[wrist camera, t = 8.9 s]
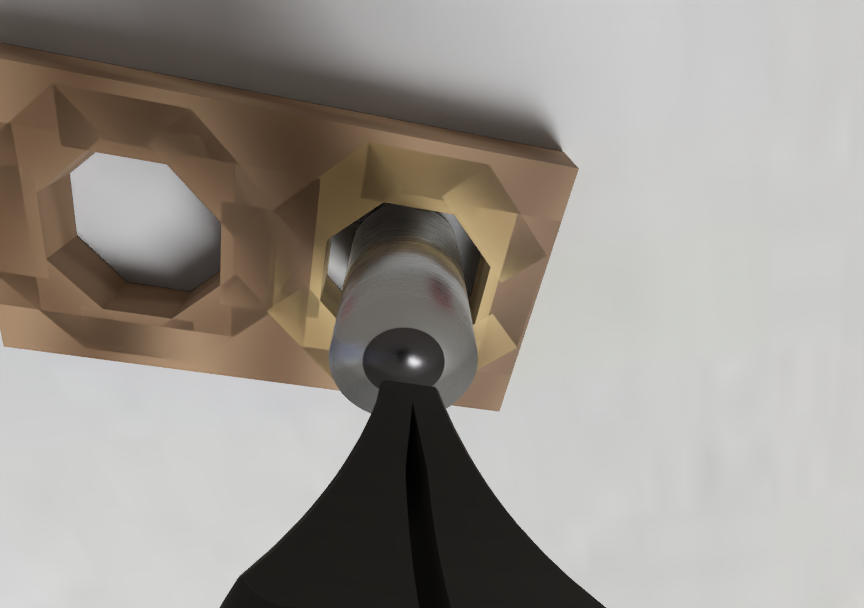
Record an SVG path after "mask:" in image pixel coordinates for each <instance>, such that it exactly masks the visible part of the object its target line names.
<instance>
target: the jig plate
mask: <svg viewBox="0 0 864 608" xmlns="http://www.w3.org/2000/svg"><path fill="white" fill-rule="evenodd" d="M95 152H99V153H105V154H111V155H116V156H122V157H128V158H134V159H139V160H145V161H151V162H156V163H162V164H167V165H168V166H169V167H170V168H171V169H172V170H173V172H174V173H175V174H176V175H177V176H178V177H179V178H180V179H181V180H182V181H183V182H184V183H185V184H186V186H187V187H188V188H189V189H190V190H191V191H192V192H193V193H194V194H195V195H196V196H197V197H198V199H199V200H200V201H201V202H202V203H203V204H204V205H205V206H206V207H207V208H208V209H209V210H210V211H211V213H212V214H213V215H214V216H215V217H216V218H217V219H218V220H219V221H220V222H221V265H220V272H218V273H217V274H216V275H214V276H213V277H211V278H210V279H208V280H207V281H205V282H204V283H203V284H201V285H200V286H198V287H197V288H195V289H194V290H193V291H191V292H189V291H182V290H175V289H169V288H162V287H155V286H148V285H142V284H135V283H128V282H126V281H125V280H124V279H123V278H122V277H121V276H120V275H119V274H118V273H117V272H116V271H115V270H113V269H112V268H111V267H110V266H109V265H108V264H107V263H106V262H105V261H104V260H103V259H102V258H100V257H99V256H98V255H97V254H96V253H95V252H94V251H93V250H92V249H91V248H90V247H89V246H88V245H86V244H85V243H84V242H83V241H82V240H81V239H80V238H79V237H78V236H77V233H76V224H75V216H74V208H73V199H72V191H71V182H70V173H71V172H72V171H73V170H74V169H76V168H77V167H78V166H79V165H80V164H82V163H83V162H84V161H85V160H86V159H88V158H89V157H90V156H91V155H92V154H94V153H95ZM578 169H579V168H578V167H577V166H576V165H575V164H574V163H573V162H572V161H571V160H570V158H569V157H568V156H567V155H566V154H565V153H564V152H562V151H556V150H551V149H546V148H541V147H536V146H531V145H526V144H520V143H515V142H510V141H505V140H500V139H495V138H489V137H484V136H479V135H474V134H469V133H464V132H458V131H453V130H448V129H443V128H438V127H433V126H427V125H422V124H417V123H412V122H407V121H402V120H396V119H391V118H386V117H381V116H376V115H371V114H365V113H360V112H355V111H350V110H345V109H340V108H334V107H329V106H324V105H319V104H314V103H309V102H303V101H298V100H293V99H288V98H283V97H278V96H272V95H267V94H262V93H257V92H252V91H247V90H241V89H236V88H231V87H226V86H221V85H216V84H211V83H205V82H200V81H195V80H190V79H185V78H180V77H174V76H169V75H164V74H159V73H154V72H149V71H143V70H138V69H133V68H128V67H123V66H118V65H112V64H107V63H102V62H97V61H92V60H87V59H81V58H76V57H71V56H66V55H61V54H56V53H50V52H45V51H40V50H35V49H30V48H25V47H19V46H14V45H9V44H4V43H0V330H1V335H2V340H3V344H4V347H12V348H20V349H27V350H35V351H43V352H50V353H58V354H65V355H73V356H81V357H88V358H96V359H104V360H111V361H119V362H126V363H134V364H142V365H149V366H157V367H164V368H172V369H180V370H187V371H195V372H203V373H210V374H218V375H225V376H233V377H241V378H248V379H256V380H264V381H271V382H279V383H286V384H294V385H302V386H309V387H317V388H324V389H332V390H339V388H338V387H337V385H336V383H335V382H334V380H333V377H332V375H331V371H330V367H329V349H330V344H331V340H332V335H333V331H334V326H335V321H336V317H337V312H338V308H339V303H340V299H341V294H342V291H341V290H340V289H339V288H338V287H337V286H336V284H335V283H334V282H333V281H332V280H331V279H330V278H329V276H328V275H327V271H328V263H329V254H330V246H331V237H332V236H334V235H335V234H337V233H338V232H340V231H341V230H343V229H344V228H346V227H347V226H349V225H350V224H352V223H353V222H355V221H356V220H358V219H359V218H361V217H362V216H364V215H365V214H367V213H368V212H370V211H371V210H373V209H374V208H376V207H377V206H378V205H380V204H381V203H383V202H386V203H391V204H397V205H403V206H408V207H414V208H420V209H426V210H431V211H437V212H443V213H449V214H454V215H455V217H456V218H457V219H458V221H459V222H460V224H461V225H462V227H463V228H464V230H465V231H466V232H467V234H468V235H469V237H470V238H471V240H472V241H473V242H474V244H475V245H476V247H477V248H478V250H479V251H480V253H481V257H480V261H479V264H478V268H477V272H476V276H475V280H474V284H473V287H472V291H471V295H470V297H469V298H468V302H469V307H470V313H471V318H472V324H473V329H474V335H475V340H476V346H477V351H478V365H477V370H476V374H475V377H474V379H473V381H472V383H471V385H470V386H469V388H468V390H467V391H466V392H465V393H464V394H463V396H462V397H461V398H459V399H458V400H457V401H456V402H455V403H453V404H452V405H454V406H462V407H469V408H477V409H484V410H492V411H500V408H501V405H502V401H503V398H504V395H505V392H506V389H507V386H508V383H509V380H510V377H511V374H512V371H513V368H514V365H515V362H516V359H517V356H518V352H519V349H520V346H521V343H522V340H523V337H524V334H525V331H526V328H527V325H528V322H529V319H530V316H531V313H532V310H533V307H534V304H535V300H536V297H537V294H538V291H539V288H540V285H541V282H542V279H543V276H544V273H545V270H546V267H547V264H548V261H549V258H550V255H551V251H552V248H553V245H554V242H555V239H556V236H557V233H558V230H559V227H560V224H561V221H562V218H563V215H564V212H565V209H566V206H567V203H568V199H569V196H570V193H571V190H572V187H573V184H574V181H575V178H576V175H577V172H578Z"/></svg>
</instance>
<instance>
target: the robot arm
mask: <svg viewBox="0 0 864 608" xmlns="http://www.w3.org/2000/svg"><path fill="white" fill-rule="evenodd" d="M220 608H606V607H604V606H603V605H602V604H601V603H600V602H598V601H597V600H596V599H595V598H594V597H592V596H591V595H590V594H589V593H588V592H586V591H585V590H584V589H583V588H582V587H580V586H579V585H578V584H577V583H575V582H574V581H573V580H572V579H571V578H570V577H569V576H567V575H566V574H565V573H564V572H563V571H562V570H561V569H560V568H559V567H558V566H557V565H556V564H555V563H554V562H553V561H552V560H551V559H549V558H548V557H547V556H546V555H545V554H544V553H543V552H542V551H541V550H540V548H539V547H538V546H537V545H536V544H535V543H534V542H533V541H532V540H531V539H530V538H529V536H528V535H527V534H526V533H525V532H524V531H523V530H522V529H521V528H520V527H519V525H518V524H517V523H516V522H515V521H514V519H513V518H512V517H511V516H510V514H509V513H508V512H507V511H506V509H505V508H504V507H503V505H502V504H501V503H500V501H499V500H498V499H497V497H496V496H495V495H494V493H493V492H492V490H491V489H490V488H489V486H488V485H487V483H486V482H485V480H484V478H483V477H482V475H481V474H480V472H479V471H478V469H477V467H476V466H475V464H474V462H473V461H472V459H471V457H470V456H469V454H468V452H467V450H466V448H465V447H464V445H463V443H462V441H461V439H460V437H459V435H458V434H457V432H456V430H455V428H454V426H453V423H452V421H451V419H450V417H449V415H448V413H447V410H446V408H445V406H444V404H443V401H442V399H441V396H440V394H439V391H438V390H437V388H436V387H432V386H425V385H418V384H410V383H403V382H396V381H388V380H385V381H383V382H381V383H380V385H379V390H378V395H377V400H376V403H375V406H374V408H373V411H372V413H371V416H370V418H369V420H368V422H367V424H366V426H365V428H364V430H363V432H362V434H361V436H360V438H359V440H358V441H357V443H356V445H355V446H354V448H353V450H352V451H351V453H350V455H349V456H348V458H347V460H346V461H345V463H344V464H343V466H342V467H341V469H340V470H339V472H338V473H337V475H336V476H335V477H334V479H333V480H332V481H331V483H330V484H329V485H328V487H327V488H326V489H325V491H324V492H323V493H322V494H321V496H320V497H319V498H318V499H317V501H316V502H315V503H314V504H313V505H312V507H311V508H310V509H309V510H308V511H307V512H306V514H305V515H304V516H303V517H302V518H301V519H300V520H299V521H298V522H297V523H296V524H295V525H294V526H293V527H292V528H291V529H290V530H289V531H288V532H287V533H286V534H285V535H284V536H283V537H282V539H281V540H280V541H279V542H278V543H277V544H276V545H274V546H273V547H272V548H271V549H270V550H269V551H268V552H267V553H266V554H265V555H263V556H262V557H261V558H260V559H259V560H258V561H256V562H255V563H254V564H253V565H252V566H251V567H250V568H248V569H247V570H246V571H245V572H244V573H243V574H241V575H240V576H239V578H238V579H237V581H236V582H235V584H234V585H233V587H232V588H231V590H230V592H229V593H228V595H227V596H226V598H225V600H224V601H223V603H222V605H221V606H220Z"/></svg>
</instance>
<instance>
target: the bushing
mask: <svg viewBox="0 0 864 608" xmlns="http://www.w3.org/2000/svg"><path fill="white" fill-rule="evenodd" d="M477 365H478V351H477V346H476V340H475V335H474V329H473V324H472V318H471V313H470V307H469V302H468V296H467V291H466V285H465V280H464V274H463V269H462V263H461V258H460V252H459V247H458V242H457V238H456V235H455V233H454V231H453V229H452V227H451V226H450V224H449V223H448V222H447V221H446V220H445V219H444V217H443V216H441V215H440V214H439V213H437V212H436V211H431V210H426V209H420V208H414V207H408V206H403V205H397V204H389V205H386V206H384V207H381V208H379V209H377V210H375V211H374V212H373V213H371V214H370V215H369V216H368V217H367V218H365V219H364V221H363V222H362V223H361V224H360V226H359V228H358V229H357V231H356V234H355V236H354V239H353V243H352V248H351V253H350V257H349V262H348V266H347V271H346V276H345V280H344V285H343V289H342V294H341V299H340V303H339V308H338V312H337V317H336V321H335V326H334V331H333V335H332V340H331V344H330V349H329V367H330V371H331V375H332V377H333V380H334V382H335V383H336V385H337V387H338V388H339V390H340V391H341V392H342V394H343V395H344V396H345V397H346V398H347V399H348V400H349V401H351V402H352V403H353V404H355V405H356V406H358V407H359V408H361V409H363V410H365V411H367V412H369V413H372V411H373V408H374V406H375V403H376V400H377V395H378V390H379V385H380V383H381V382H383V381H385V380H388V381H396V382H403V383H410V384H418V385H425V386H432V387H436V388H437V390H438V391H439V394H440V396H441V399H442V401H443V404H444V406H445V408H447V407H449V406H451V405H452V404H453V403H455V402H456V401H457V400H458V399H459V398H461V397H462V396H463V394H464V393H465V392H466V391H467V390H468V388H469V386H470V385H471V383H472V381H473V379H474V377H475V374H476V370H477Z"/></svg>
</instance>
